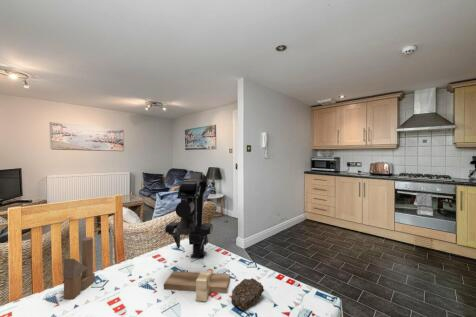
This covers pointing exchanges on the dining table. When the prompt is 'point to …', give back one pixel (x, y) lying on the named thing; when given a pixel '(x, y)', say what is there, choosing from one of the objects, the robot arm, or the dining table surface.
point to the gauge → (203, 285)
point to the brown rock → (246, 293)
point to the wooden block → (79, 271)
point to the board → (188, 282)
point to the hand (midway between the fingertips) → (189, 248)
